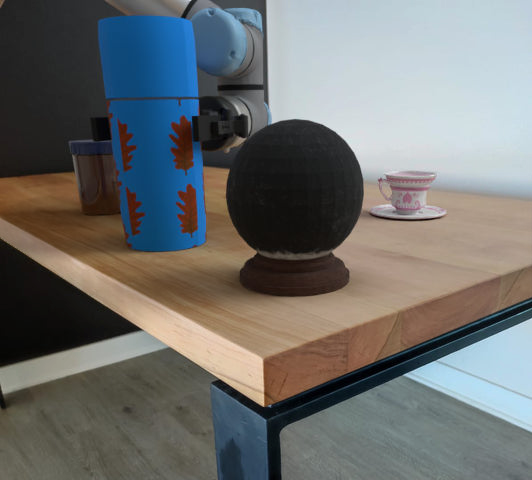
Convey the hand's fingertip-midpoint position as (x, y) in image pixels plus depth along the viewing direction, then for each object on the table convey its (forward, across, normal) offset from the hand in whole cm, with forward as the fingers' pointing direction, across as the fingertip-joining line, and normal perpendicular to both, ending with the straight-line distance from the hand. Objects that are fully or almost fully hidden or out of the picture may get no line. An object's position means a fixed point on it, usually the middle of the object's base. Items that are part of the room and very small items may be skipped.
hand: (143, 129), depth 64 cm
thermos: (-3, 0, -14) cm, 14 cm away
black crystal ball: (+8, -21, -14) cm, 27 cm away
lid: (-22, +23, -3) cm, 31 cm away
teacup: (-31, -28, -14) cm, 44 cm away
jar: (-22, +23, -14) cm, 34 cm away
